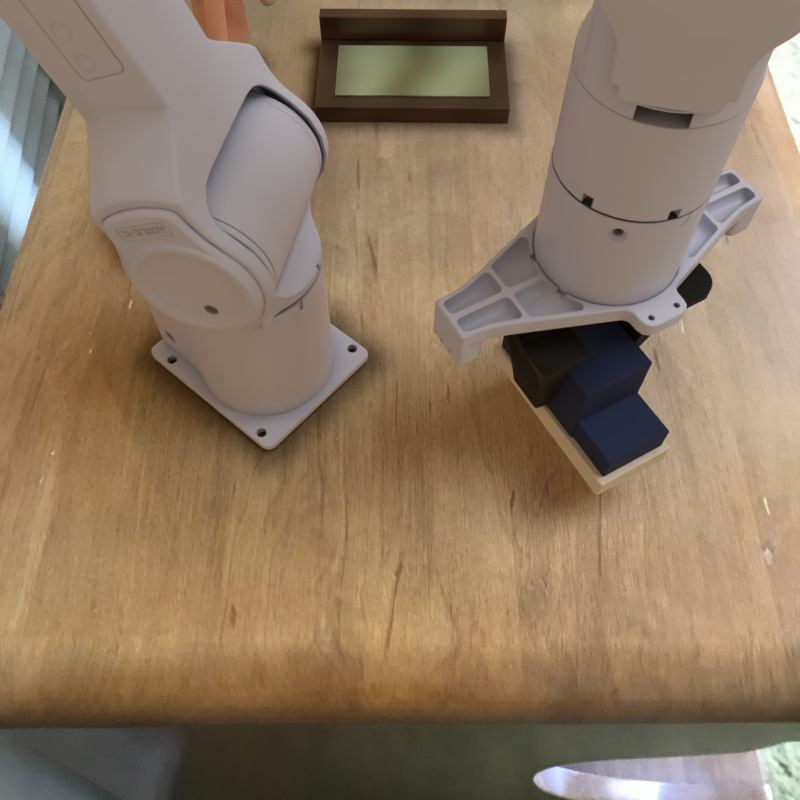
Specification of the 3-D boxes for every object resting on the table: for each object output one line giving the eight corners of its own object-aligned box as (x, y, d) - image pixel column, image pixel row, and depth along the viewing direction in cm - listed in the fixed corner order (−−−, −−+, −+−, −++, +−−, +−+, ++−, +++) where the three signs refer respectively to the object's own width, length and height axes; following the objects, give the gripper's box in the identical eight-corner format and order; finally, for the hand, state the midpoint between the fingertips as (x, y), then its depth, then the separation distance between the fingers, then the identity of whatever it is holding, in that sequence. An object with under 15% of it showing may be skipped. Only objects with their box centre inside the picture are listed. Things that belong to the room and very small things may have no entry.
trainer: (492, 356, 43) (502, 296, 38) (556, 325, 44) (573, 263, 39) (595, 496, 39) (620, 447, 34) (664, 459, 40) (696, 406, 35)
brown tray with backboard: (316, 121, 56) (311, 84, 54) (323, 45, 60) (319, 7, 58) (508, 123, 56) (513, 86, 54) (502, 47, 60) (506, 9, 58)
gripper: (523, 326, 25) (483, 506, 37) (871, 161, 29) (734, 372, 41) (408, 179, 28) (405, 387, 40) (736, 47, 32) (645, 273, 44)
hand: (565, 373), depth 41 cm, fingers closed on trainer, 3 cm apart
